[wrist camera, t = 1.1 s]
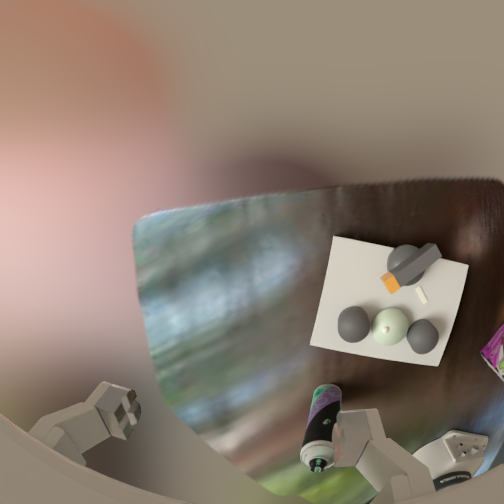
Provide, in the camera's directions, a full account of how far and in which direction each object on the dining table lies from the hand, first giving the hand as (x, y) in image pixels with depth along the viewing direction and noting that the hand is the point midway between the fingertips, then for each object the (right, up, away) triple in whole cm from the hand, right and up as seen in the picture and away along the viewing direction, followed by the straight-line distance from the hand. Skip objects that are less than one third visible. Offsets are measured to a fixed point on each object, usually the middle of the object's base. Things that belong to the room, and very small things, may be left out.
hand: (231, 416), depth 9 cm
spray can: (+15, -21, +37) cm, 45 cm away
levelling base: (+24, -2, +33) cm, 41 cm away
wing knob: (+24, +4, +29) cm, 38 cm away
